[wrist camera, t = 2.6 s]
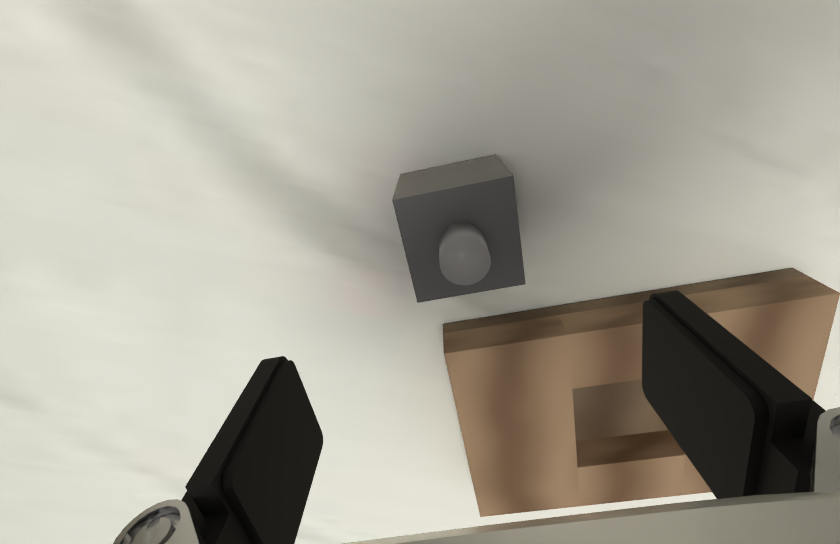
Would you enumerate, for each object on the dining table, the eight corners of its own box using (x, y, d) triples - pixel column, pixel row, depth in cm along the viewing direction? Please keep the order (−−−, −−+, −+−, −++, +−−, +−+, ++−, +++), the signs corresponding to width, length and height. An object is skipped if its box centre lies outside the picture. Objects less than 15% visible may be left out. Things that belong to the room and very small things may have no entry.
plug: (495, 154, 21) (522, 187, 15) (507, 243, 23) (535, 306, 17) (400, 173, 22) (387, 214, 15) (420, 259, 24) (416, 326, 17)
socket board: (792, 267, 23) (839, 293, 21) (758, 445, 29) (792, 483, 26) (442, 324, 26) (443, 353, 23) (476, 478, 31) (480, 516, 29)
